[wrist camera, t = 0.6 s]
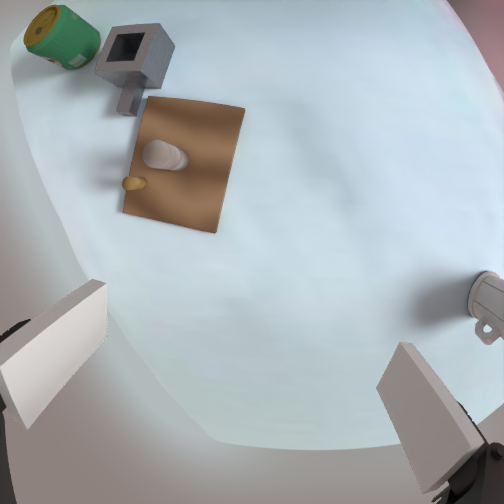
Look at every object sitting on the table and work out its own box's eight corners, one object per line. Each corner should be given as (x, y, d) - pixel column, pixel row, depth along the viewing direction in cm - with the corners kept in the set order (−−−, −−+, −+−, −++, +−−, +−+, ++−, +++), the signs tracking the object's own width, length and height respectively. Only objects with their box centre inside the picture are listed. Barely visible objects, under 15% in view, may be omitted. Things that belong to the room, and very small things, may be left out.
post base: (151, 98, 31) (121, 77, 23) (245, 110, 32) (239, 86, 23) (126, 211, 35) (90, 220, 26) (216, 232, 35) (201, 247, 27)
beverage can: (58, 59, 29) (15, 38, 18) (90, 24, 28) (53, -4, 16) (76, 79, 30) (28, 58, 19) (110, 42, 29) (70, 10, 17)
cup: (482, 326, 38) (518, 356, 26) (454, 321, 37) (493, 355, 26) (502, 275, 35) (544, 297, 24) (477, 264, 35) (523, 288, 23)
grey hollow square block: (133, 46, 29) (112, 27, 23) (175, 46, 30) (159, 23, 23) (110, 114, 32) (83, 104, 25) (152, 117, 32) (129, 104, 25)
